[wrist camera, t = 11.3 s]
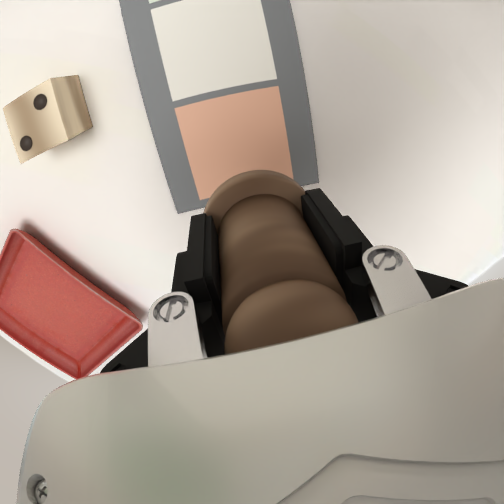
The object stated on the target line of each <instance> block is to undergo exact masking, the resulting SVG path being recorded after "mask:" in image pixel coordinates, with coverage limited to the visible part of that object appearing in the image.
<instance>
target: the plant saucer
mask: <svg viewBox="0 0 504 504" xmlns="http://www.w3.org/2000/svg"><path fill="white" fill-rule="evenodd" d="M142 328H143V325H142V323H141V321H140V320H139V319H138V318H137V317H136V316H135V315H134V314H133V313H132V312H131V311H130V310H129V309H128V308H127V307H125V306H124V305H123V304H121V303H120V302H118V301H117V300H115V299H114V298H113V297H111V296H110V295H108V294H107V293H105V292H104V291H102V290H101V289H100V288H98V287H97V286H95V285H94V284H93V283H91V282H90V281H89V280H87V279H86V278H85V277H83V276H82V275H81V274H79V273H78V272H77V271H75V270H74V269H73V268H71V267H70V266H69V265H67V264H66V263H65V262H64V261H62V260H61V259H60V258H59V257H57V256H56V255H55V254H54V253H52V252H51V251H50V250H49V249H48V248H46V247H45V246H44V245H43V244H41V243H40V242H39V241H38V240H37V239H35V238H34V237H33V236H31V235H30V234H28V233H26V232H24V231H22V230H18V229H12V230H10V232H9V234H8V237H7V239H6V241H5V244H4V246H3V249H2V251H1V254H0V330H2V331H3V332H4V333H6V334H7V335H8V336H10V337H11V338H12V339H14V340H15V341H16V342H18V343H19V344H21V345H22V346H24V347H25V348H26V349H28V350H29V351H31V352H32V353H34V354H35V355H37V356H38V357H40V358H41V359H43V360H45V361H46V362H48V363H49V364H51V365H52V366H54V367H56V368H57V369H59V370H61V371H62V372H64V373H66V374H68V375H69V376H71V377H73V378H75V379H80V378H83V377H86V376H88V375H89V374H91V373H92V372H93V371H94V370H95V369H96V368H97V367H99V366H100V365H101V364H102V363H103V362H104V361H106V360H107V359H108V358H109V357H110V356H112V355H113V354H114V353H115V352H116V351H117V350H118V349H120V348H121V347H122V346H123V345H124V344H125V343H127V342H128V341H129V340H130V339H131V338H133V337H134V336H135V335H136V334H137V333H139V332H140V331H141V330H142Z"/></svg>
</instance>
